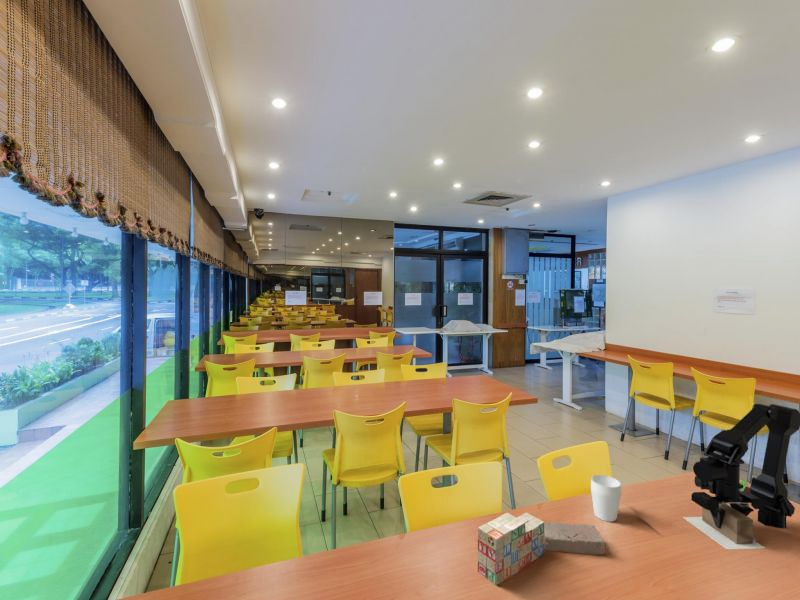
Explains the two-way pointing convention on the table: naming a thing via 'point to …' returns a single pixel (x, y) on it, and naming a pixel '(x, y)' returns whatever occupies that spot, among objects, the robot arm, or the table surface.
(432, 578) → the table surface
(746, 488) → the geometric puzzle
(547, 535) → the brick
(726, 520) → the block
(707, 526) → the board
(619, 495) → the cup
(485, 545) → the stack of blocks
